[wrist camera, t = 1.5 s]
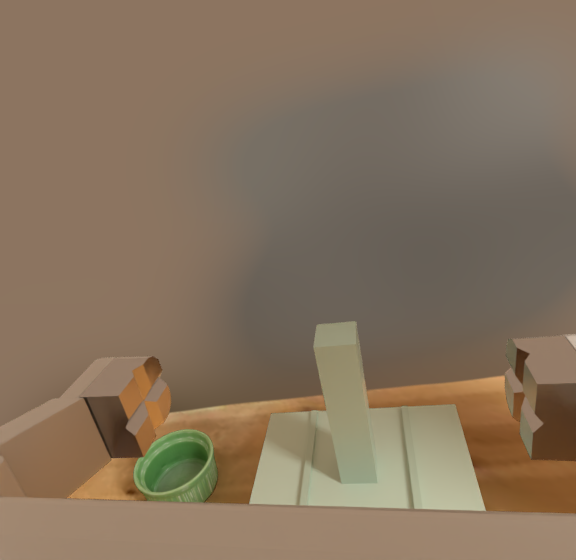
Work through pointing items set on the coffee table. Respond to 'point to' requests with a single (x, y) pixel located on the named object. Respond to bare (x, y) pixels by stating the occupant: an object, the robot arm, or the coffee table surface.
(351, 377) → the grooved base with post
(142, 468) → the ramekin
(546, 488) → the coffee table surface
